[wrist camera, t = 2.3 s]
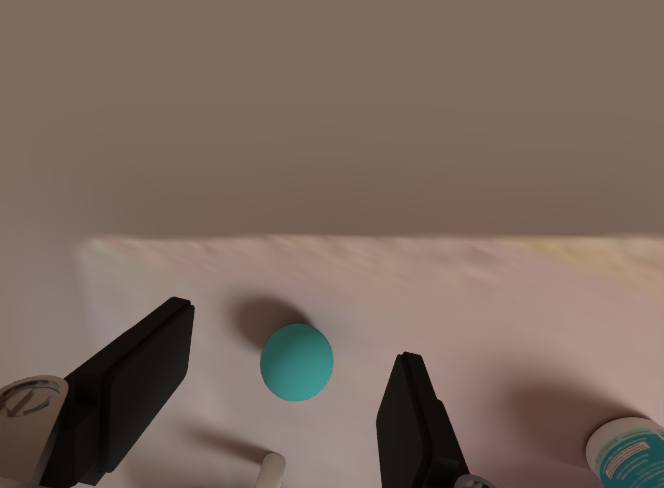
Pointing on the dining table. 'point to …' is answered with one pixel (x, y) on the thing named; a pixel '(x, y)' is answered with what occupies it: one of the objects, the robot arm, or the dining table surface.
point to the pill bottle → (628, 453)
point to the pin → (271, 471)
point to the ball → (296, 362)
